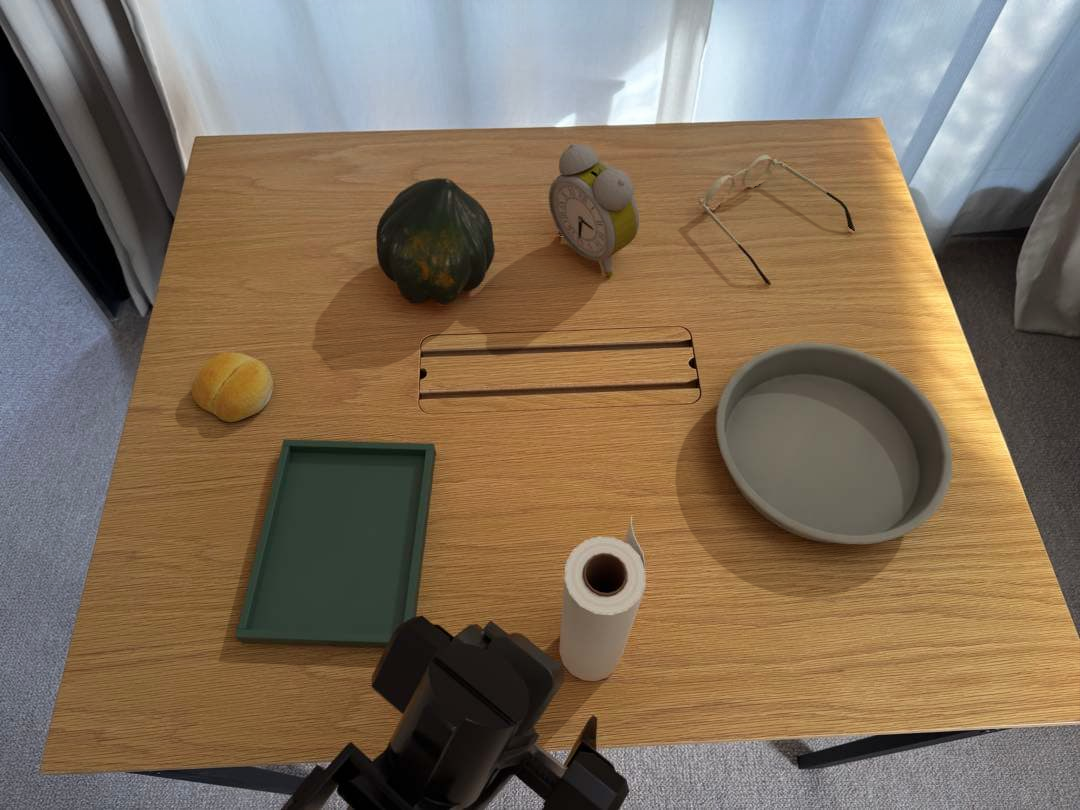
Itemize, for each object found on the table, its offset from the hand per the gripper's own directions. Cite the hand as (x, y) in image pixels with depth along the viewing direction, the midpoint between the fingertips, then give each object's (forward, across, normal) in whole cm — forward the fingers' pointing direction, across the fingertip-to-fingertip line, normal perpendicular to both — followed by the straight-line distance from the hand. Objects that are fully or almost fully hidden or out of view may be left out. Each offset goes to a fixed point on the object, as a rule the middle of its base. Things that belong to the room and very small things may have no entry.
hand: (544, 682), depth 60 cm
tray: (+10, +27, +8) cm, 30 cm away
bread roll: (+14, +50, +4) cm, 52 cm away
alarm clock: (+45, +30, -27) cm, 60 cm away
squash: (+34, +43, -16) cm, 57 cm away
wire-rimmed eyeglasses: (+57, +13, -40) cm, 71 cm away
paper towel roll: (+15, 0, +4) cm, 16 cm away
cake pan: (+38, -8, -20) cm, 43 cm away
